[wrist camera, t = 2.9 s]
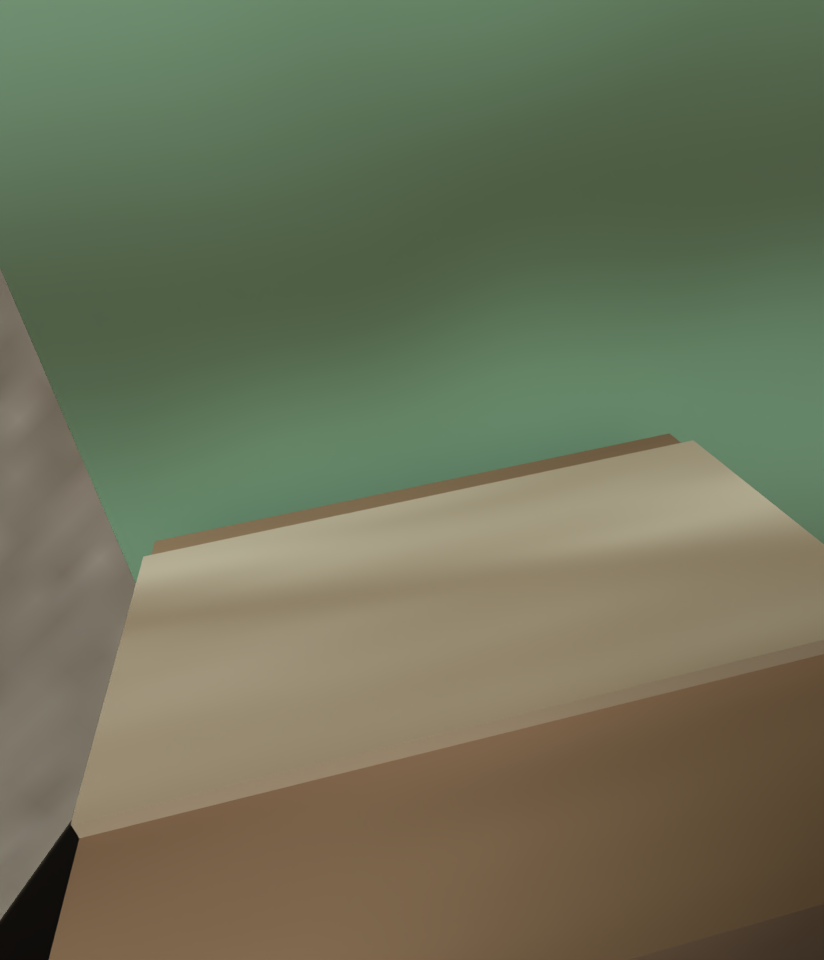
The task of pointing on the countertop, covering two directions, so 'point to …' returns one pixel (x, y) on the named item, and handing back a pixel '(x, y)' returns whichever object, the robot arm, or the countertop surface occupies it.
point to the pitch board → (413, 242)
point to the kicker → (468, 728)
